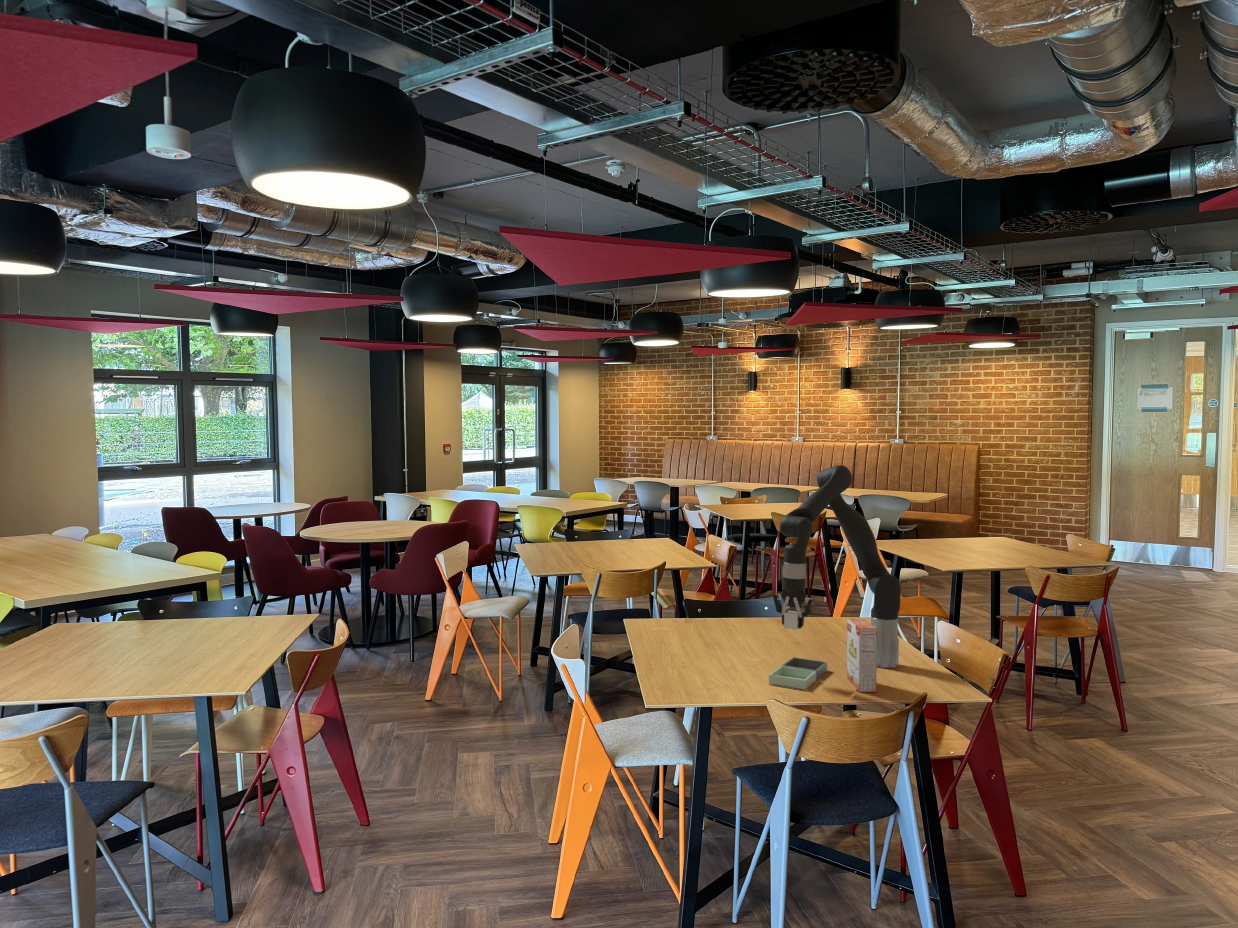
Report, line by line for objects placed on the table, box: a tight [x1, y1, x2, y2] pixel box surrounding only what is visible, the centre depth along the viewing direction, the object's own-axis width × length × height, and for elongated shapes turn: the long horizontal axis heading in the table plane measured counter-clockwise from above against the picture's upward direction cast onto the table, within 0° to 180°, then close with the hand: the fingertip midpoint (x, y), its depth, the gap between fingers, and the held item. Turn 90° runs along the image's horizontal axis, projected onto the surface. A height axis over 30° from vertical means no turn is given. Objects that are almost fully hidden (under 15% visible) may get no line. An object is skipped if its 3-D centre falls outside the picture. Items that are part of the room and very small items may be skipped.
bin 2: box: [781, 657, 828, 680], centre depth 270 cm, size 12×12×4 cm
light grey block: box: [783, 610, 800, 631], centre depth 262 cm, size 4×4×5 cm
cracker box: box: [846, 618, 877, 693], centre depth 257 cm, size 14×6×21 cm, turn 179°
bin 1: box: [768, 665, 817, 692], centre depth 259 cm, size 12×12×4 cm
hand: (792, 626), depth 262 cm, fingers closed on light grey block, 4 cm apart
